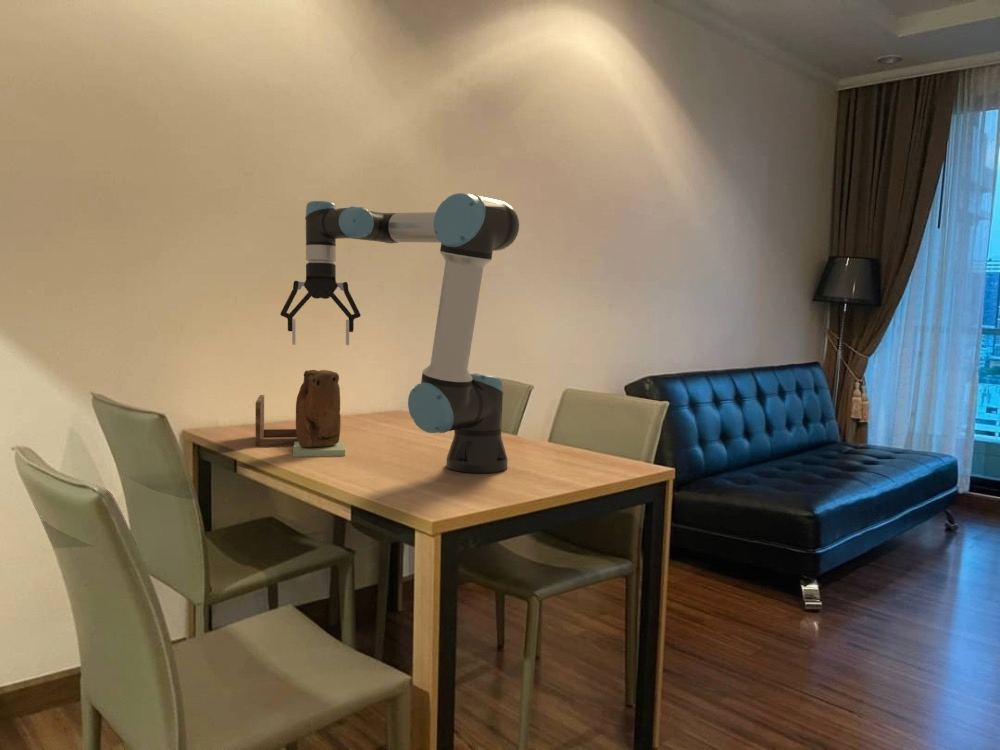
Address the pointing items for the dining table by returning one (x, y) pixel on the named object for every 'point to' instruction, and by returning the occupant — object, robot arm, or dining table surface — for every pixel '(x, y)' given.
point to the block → (318, 409)
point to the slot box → (270, 430)
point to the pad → (319, 450)
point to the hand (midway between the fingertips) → (320, 344)
